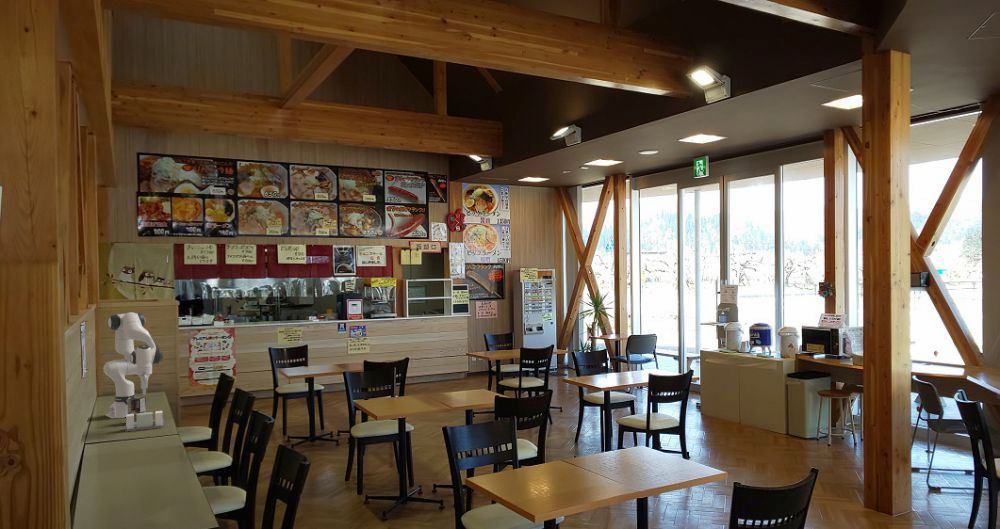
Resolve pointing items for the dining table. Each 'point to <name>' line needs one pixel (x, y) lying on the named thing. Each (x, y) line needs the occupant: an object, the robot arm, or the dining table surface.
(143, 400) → the coffee box
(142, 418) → the block
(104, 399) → the dining table surface
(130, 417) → the module rack
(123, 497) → the dining table surface
